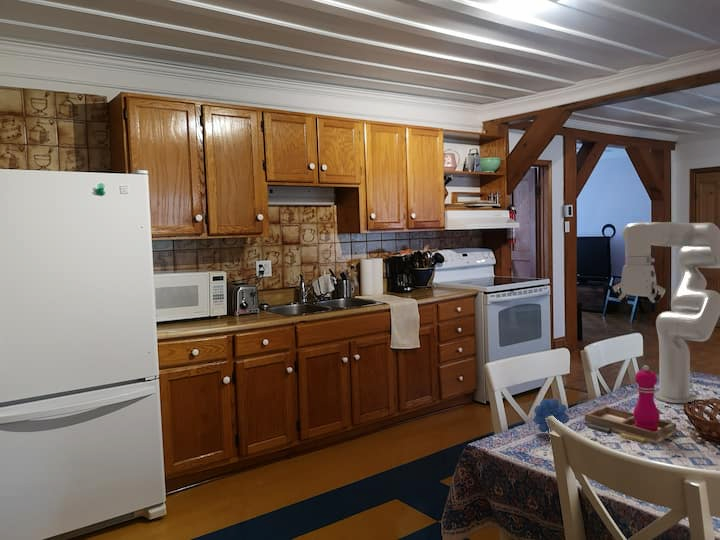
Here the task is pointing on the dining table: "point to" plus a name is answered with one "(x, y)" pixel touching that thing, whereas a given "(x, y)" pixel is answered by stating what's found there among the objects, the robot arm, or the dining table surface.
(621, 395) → the dining table surface
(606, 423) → the board
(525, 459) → the dining table surface
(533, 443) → the dining table surface
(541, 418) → the grapes
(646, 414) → the pepper mill
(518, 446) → the dining table surface
